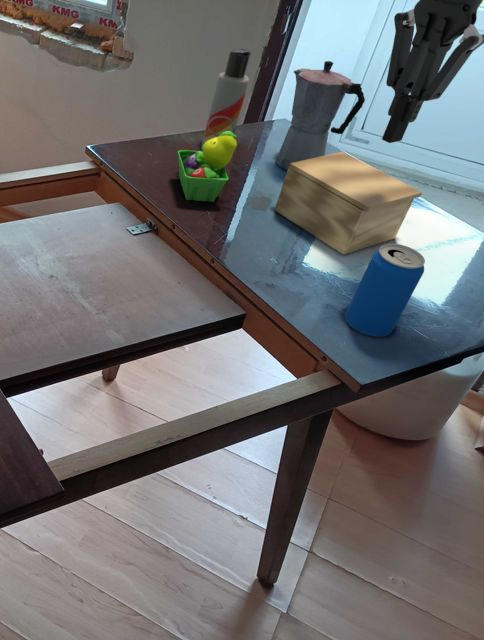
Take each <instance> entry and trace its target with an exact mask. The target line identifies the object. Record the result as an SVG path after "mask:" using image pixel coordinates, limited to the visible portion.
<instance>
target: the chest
mask: <svg viewBox="0 0 484 640" xmlns="http://www.w3.org/2000/svg"><path fill="white" fill-rule="evenodd" d="M286 171H287V172H286V175H285V178H284V181H283V184H282V187H281V189H280V192H279V195H278V198H277V201H276V204H275V207H274V211H275V212H276V213H278V214H280V215H282V216H283V217H285V218H286V219H287V220H289V221H291V222H292V223H293V224H295V225H297V226H299V227H300V228H301V229H303V230H305V231H306V232H308V233H310V234H311V235H312V236H313V237H316V239H318V240H320V241H321V242H323V243H324V244H326V245H327V246H329V247H330V248H332V249H334V250H335V251H337V252H339V253H340V254H342V255H347V254H350V253H352V252H356V251H359V250H363V249H365V248H369V247H372V246H375V245H379V244H382V243H385V242H388V241H392V240H394V239H396V237H397V236H398V233H399V231H400V229H401V227H402V225H403V224H404V223H403V222H404V221H405V218H406V216H407V214H408V213H409V210H410V209H411V206H412V204H413V202H414V199H415V198H414V199H410V200H407V201H403V202H400V203H396V204H393V205H389V206H386V207H382V208H379V209H375V210H372V211H368V212H367V211H365V210H363V209H361V208H359V207H358V206H356V205H354V204H352V203H351V202H349V201H347V200H345V199H344V198H342V197H340V196H338V195H337V194H335V193H333V192H331V191H330V190H328V189H326V188H324V187H322V186H321V185H319V184H317V183H315V182H314V181H312V180H310V179H308V178H307V177H305V176H303V175H301V174H300V173H298V172H296V171H294V170H292V169H291V168H288V170H286Z"/></svg>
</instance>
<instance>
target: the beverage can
mask: <svg viewBox="0 0 484 640" xmlns="http://www.w3.org/2000/svg"><path fill="white" fill-rule="evenodd" d="M425 263H426V259H425V257H424V255H422V253H420V252H419V251H417V250H416V249H414V248H412V247H409V246H406V245H403V244H398V243H386V244H383V245H381V246H380V248H379V249H378V250H377V251H375V252H374V253H373V254H372V256H371V257H370V260H369V262H368V265H367V267H366V269H365V271H364V273H363V276H362V277H361V278H360V279H361V280H360V282H359V284H358V287H357V288H356V290H355V292H354V295H353V297H352V299H351V301H350V303H349V305H348V307H347V309H346V312H345V314H344V317H345V321H346V322H347V324H348V325H349V326H350V327H352V328H353V329H354V330H356V331H358V332H359V333H361V334H365V335H367V336H370V337H371V336H372V337H386V336H389V335H390V334H391V333H392V332H393V331H394V329H395V327H396V325H397V324H398V321H399V320H400V318H401V316H402V314H403V312H404V311H405V309H406V306H407V305H408V303H409V301H410V300H411V298H412V296H413V293H414V292H415V290H416V288H417V287H418V284H419V282H420V280H421V279H422V277H423V275H424V273H425Z"/></svg>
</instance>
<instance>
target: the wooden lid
mask: <svg viewBox="0 0 484 640" xmlns="http://www.w3.org/2000/svg"><path fill="white" fill-rule="evenodd" d="M289 168H291V169H292V170H294V171H296V172H298V173H300V174H301V175H303V176H305V177H307V178H308V179H310V180H312V181H314V182H315V183H317V184H319V185H321V186H322V187H324V188H326V189H328V190H330V191H331V192H333V193H335V194H337V195H338V196H340V197H342V198H344V199H345V200H347V201H349V202H351V203H352V204H354V205H356V206H358V207H359V208H361V209H363V210H365V211H367V212H368V211H372V210H375V209H379V208H382V207H386V206H389V205H393V204H396V203H400V202H403V201H407V200H410V199H417V198H420V197H421V196H422V195H423V192H422V191H420V190H419V189H416V188H414V187H412V186H411V185H409V184H407V183H405V182H403V181H401V180H399V179H397V178H395V177H393V176H391V175H389V174H387V173H385V172H383V171H381V170H379V169H377V168H376V167H374V166H372V165H370V164H368V163H366V162H364V161H362V160H359V159H358V158H356V157H354V156H353V155H350V154H348V153H346V152H344V151H338V152H334V153H329V154H325V156H320V157H316V158H311V159H307V160H303V161H298V162H294V163H290V166H289Z"/></svg>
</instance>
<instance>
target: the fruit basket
mask: <svg viewBox="0 0 484 640" xmlns="http://www.w3.org/2000/svg"><path fill="white" fill-rule="evenodd" d="M236 138H237V135H236V134H235V133H234V134H233V133H232V132H231V131H225V132H223V133H222V134H220V136H219V137H215V138H212V139H210V140H208V141H206V142H205V143H204V145H203V147H202V146H201V147H202V148H203V151H202V150H191V149H180V150H178V151H177V158H178V178H179V181H180V185H181V188H182V191H183V194H184V198H185V200H186V201H195V202H211V203H214V202H215V200H216V199H217V197H218V196H219V194H220V192H221V191H222V190H223V187H224V185H225V184H227V182H228V181H229V176H228V174H227V170H226V169H225V167H226V166H227V165H228V164H229V163H230V161H232V158H233V155H234V152H235V150H236V148H237V145H238V142H237V140H236Z"/></svg>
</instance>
